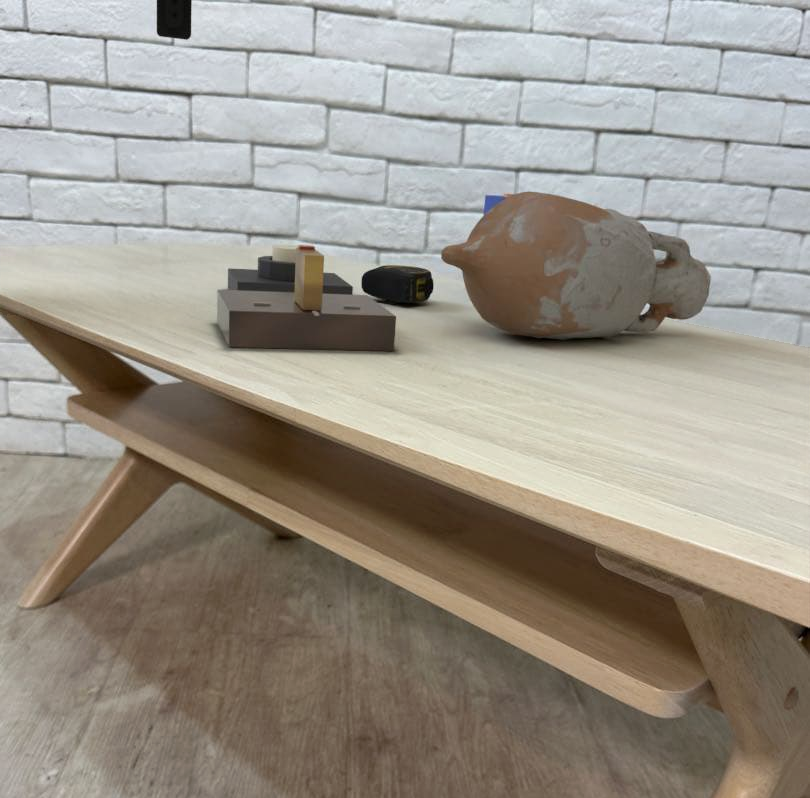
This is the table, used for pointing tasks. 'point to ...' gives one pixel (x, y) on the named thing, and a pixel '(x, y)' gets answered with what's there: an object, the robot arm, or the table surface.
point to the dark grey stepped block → (279, 278)
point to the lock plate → (304, 322)
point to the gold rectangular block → (309, 278)
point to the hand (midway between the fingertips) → (173, 36)
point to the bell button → (284, 253)
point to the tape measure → (398, 283)
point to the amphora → (574, 270)
